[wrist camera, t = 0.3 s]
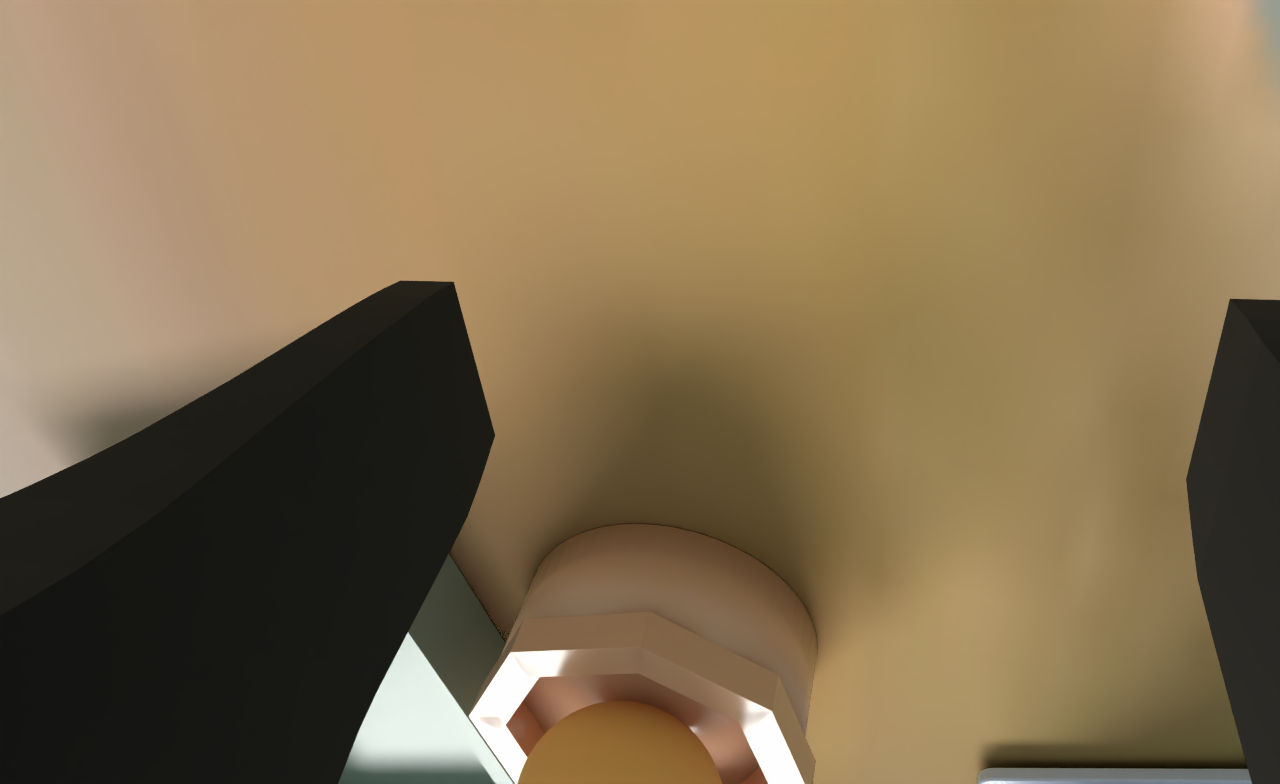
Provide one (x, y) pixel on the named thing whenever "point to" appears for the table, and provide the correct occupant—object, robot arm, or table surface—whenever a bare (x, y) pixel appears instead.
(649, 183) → the table surface
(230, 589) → the robot arm
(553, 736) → the ball
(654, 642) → the pot
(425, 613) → the tray
